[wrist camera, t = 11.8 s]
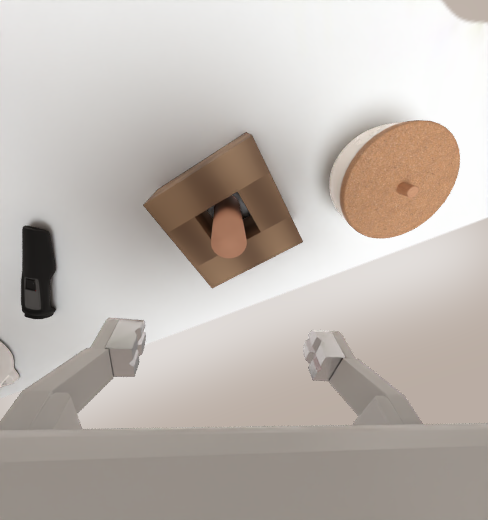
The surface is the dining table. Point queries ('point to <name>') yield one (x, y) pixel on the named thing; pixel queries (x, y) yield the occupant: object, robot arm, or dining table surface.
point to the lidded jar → (394, 177)
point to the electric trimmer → (36, 273)
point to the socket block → (214, 191)
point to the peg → (228, 229)
